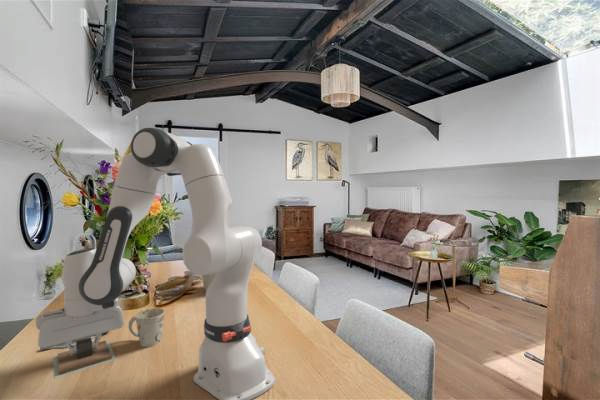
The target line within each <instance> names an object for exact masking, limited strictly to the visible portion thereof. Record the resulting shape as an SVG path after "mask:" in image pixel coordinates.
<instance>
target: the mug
mask: <svg viewBox="0 0 600 400" xmlns="http://www.w3.org/2000/svg"><path fill="white" fill-rule="evenodd" d="M164 319H165V310H164V309H163V308H159V307H158V308H157V307H156V308H147V309H144V310H141V311H139V312H137V313H136V314H135V316H132V317H131V318H130V319H129V322H128V331H129V332H130V333H131V334H132V335H133V336H134V337H138V340H139V345H140V347H142V348H150V347H154V346H156V345H158V344H160V343H161V342H162V337H163V327H164ZM134 322H136V328H137V332H136V331H135V330H134V327H133V323H134Z"/></svg>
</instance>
